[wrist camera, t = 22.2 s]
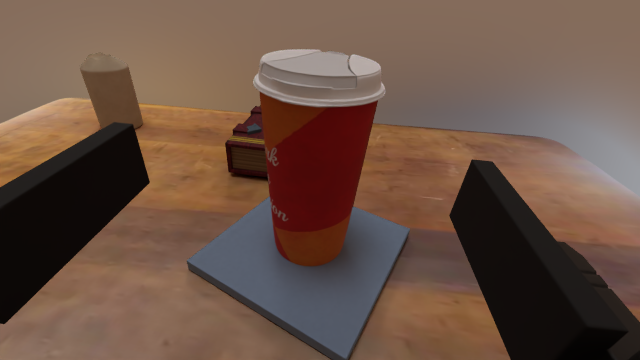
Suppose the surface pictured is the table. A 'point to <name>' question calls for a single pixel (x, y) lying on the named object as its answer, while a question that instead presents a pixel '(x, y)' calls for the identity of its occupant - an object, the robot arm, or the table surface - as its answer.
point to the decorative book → (248, 147)
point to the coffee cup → (315, 145)
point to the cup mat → (305, 277)
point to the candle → (111, 90)
